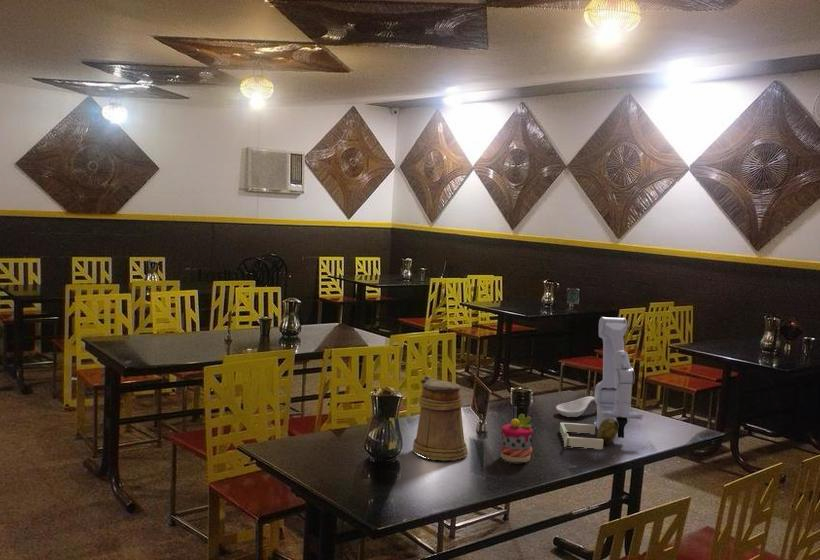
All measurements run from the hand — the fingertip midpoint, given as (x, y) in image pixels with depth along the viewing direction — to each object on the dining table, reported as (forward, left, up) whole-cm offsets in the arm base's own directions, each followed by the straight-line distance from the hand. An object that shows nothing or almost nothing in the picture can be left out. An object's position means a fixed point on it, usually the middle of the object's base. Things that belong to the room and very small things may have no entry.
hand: (620, 437), depth 276 cm
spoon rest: (-37, -9, -3) cm, 39 cm away
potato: (+1, -5, -2) cm, 5 cm away
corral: (0, -14, -2) cm, 14 cm away
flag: (+12, -21, -2) cm, 24 cm away
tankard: (+25, -67, -2) cm, 71 cm away
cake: (+27, -40, -2) cm, 48 cm away
